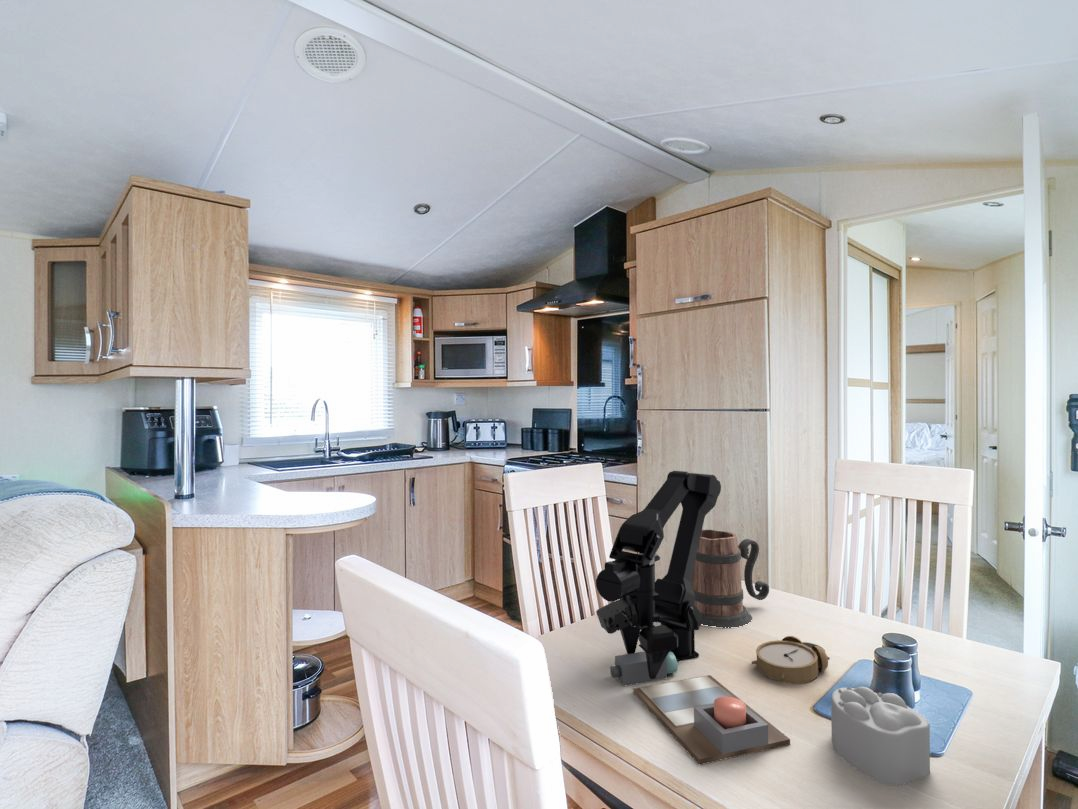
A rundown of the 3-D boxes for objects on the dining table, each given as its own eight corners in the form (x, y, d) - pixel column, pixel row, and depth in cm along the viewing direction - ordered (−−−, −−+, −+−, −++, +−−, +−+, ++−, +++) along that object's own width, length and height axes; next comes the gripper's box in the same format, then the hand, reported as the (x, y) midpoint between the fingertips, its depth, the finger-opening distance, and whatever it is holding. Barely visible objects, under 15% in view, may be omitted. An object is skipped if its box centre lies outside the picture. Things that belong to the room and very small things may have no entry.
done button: (733, 712, 96) (733, 694, 96) (752, 728, 91) (752, 709, 91) (708, 717, 95) (707, 699, 94) (725, 734, 90) (725, 714, 90)
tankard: (706, 632, 134) (705, 545, 134) (667, 607, 150) (666, 529, 150) (790, 618, 142) (789, 536, 141) (745, 596, 158) (744, 521, 157)
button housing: (736, 716, 98) (736, 699, 98) (768, 744, 90) (768, 724, 90) (694, 725, 96) (693, 707, 96) (723, 754, 88) (722, 734, 88)
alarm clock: (742, 651, 118) (792, 624, 125) (745, 674, 119) (795, 645, 125) (789, 675, 108) (841, 643, 115) (793, 699, 109) (844, 667, 115)
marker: (667, 667, 118) (667, 647, 118) (677, 676, 114) (677, 656, 114) (608, 677, 114) (608, 657, 114) (617, 687, 110) (616, 666, 110)
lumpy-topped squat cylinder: (885, 790, 81) (885, 727, 81) (813, 738, 93) (812, 684, 93) (941, 773, 84) (940, 713, 84) (864, 725, 96) (863, 672, 96)
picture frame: (710, 679, 113) (709, 673, 112) (790, 744, 91) (790, 737, 91) (633, 692, 108) (633, 687, 108) (699, 764, 87) (699, 757, 87)
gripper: (583, 577, 120) (584, 653, 120) (622, 609, 102) (623, 698, 103) (633, 571, 123) (634, 645, 124) (679, 601, 106) (680, 687, 106)
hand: (641, 667), depth 114 cm, fingers open, 9 cm apart
